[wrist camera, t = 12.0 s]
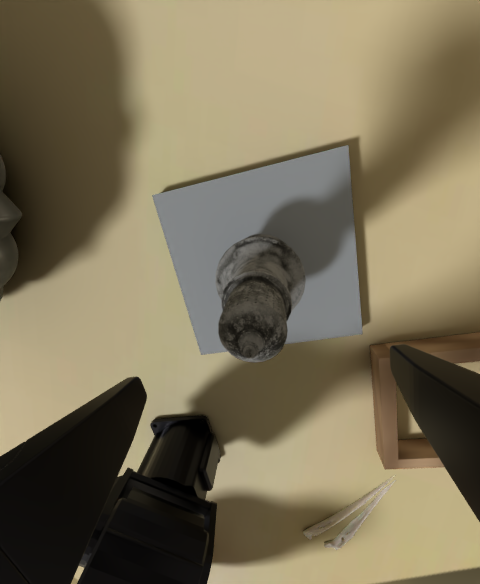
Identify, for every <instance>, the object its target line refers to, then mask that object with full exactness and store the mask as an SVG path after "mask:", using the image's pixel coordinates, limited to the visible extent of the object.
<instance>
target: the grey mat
mask: <svg viewBox="0 0 480 584" xmlns="http://www.w3.org/2000/svg"><path fill="white" fill-rule="evenodd" d="M152 197H153V200H154V203H155V206H156V210H157V213H158V216H159V219H160V223H161V226H162V229H163V232H164V236H165V239H166V242H167V245H168V249H169V252H170V255H171V258H172V262H173V265H174V268H175V271H176V274H177V278H178V281H179V284H180V287H181V291H182V294H183V297H184V300H185V304H186V307H187V310H188V313H189V317H190V320H191V323H192V326H193V330H194V333H195V336H196V339H197V343H198V346H199V349H200V352H201V355H204V354H212V353H219V352H227V350H226V349H225V348H224V346H223V345H222V343H221V341H220V337H219V334H218V323H219V320H220V316H221V314H222V312H223V309H222V306H221V303H222V301H221V299H220V297H219V295H218V292H217V288H216V284H215V281H216V270H217V267H218V263H219V261H220V259H221V258H222V256H223V255H224V253H225V252H226V251H227V250H228V249H229V248H230V247H231V246H232V245H234V244H235V243H237V242H239V241H241V240H243V239H245V238H247V237H249V236H253V235H258V234H266V235H271V236H274V237H277V238H279V239H280V240H282V241H283V242H285V243H286V244H287V245H288V246H289V247H291V248H292V249H293V251H294V252H295V253H296V254H297V255H298V257H299V258H300V260H301V263H302V265H303V267H304V271H305V279H306V281H305V288H304V293H303V295H302V297H301V299H300V302H299V303H298V304H297V305H296V307H295V308H294V309H293V310H292V311H291V314H290V316H289V318H288V320H287V329H288V332H287V339H286V342H285V344H290V343H297V342H305V341H313V340H321V339H329V338H336V337H344V336H352V335H360V334H363V333H362V319H361V306H360V293H359V280H358V267H357V253H356V240H355V227H354V214H353V200H352V187H351V174H350V161H349V147H348V145H346V146H342V147H338V148H334V149H330V150H327V151H323V152H319V153H315V154H311V155H307V156H303V157H299V158H295V159H292V160H288V161H284V162H280V163H276V164H272V165H268V166H264V167H261V168H257V169H253V170H249V171H245V172H241V173H237V174H233V175H229V176H226V177H222V178H218V179H214V180H210V181H206V182H202V183H198V184H194V185H191V186H187V187H183V188H179V189H175V190H171V191H167V192H163V193H159V194H156V195H152Z"/></svg>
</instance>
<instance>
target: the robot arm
mask: <svg viewBox="0 0 480 584" xmlns="http://www.w3.org/2000/svg"><path fill="white" fill-rule="evenodd" d="M390 368H391V372H392V375H393V377H394V379H395V381H396V383H397V385H398V387H399V389H400V391H401V393H402V395H403V397H404V399H405V401H406V403H407V405H408V407H409V409H410V411H411V413H412V415H413V417H414V419H415V421H416V422H417V424H418V426H419V427H420V429H421V430H422V432H423V434H424V435H425V437H426V438H427V440H428V441H429V443H430V445H431V446H432V448H433V449H434V451H435V452H436V454H437V456H438V457H439V459H440V460H441V462H442V463H443V465H444V467H445V468H446V470H447V471H448V473H449V475H450V476H451V478H452V479H453V481H454V482H455V484H456V486H457V487H458V489H459V490H460V492H461V493H462V495H463V497H464V498H465V500H466V501H467V503H468V504H469V506H470V508H471V509H472V511H473V512H474V514H475V516H476V517H477V519H478V520H479V522H480V374H478V373H476V372H473V371H471V370H468V369H466V368H463V367H461V366H458V365H456V364H453V363H451V362H448V361H446V360H443V359H441V358H438V357H436V356H434V355H431V354H429V353H426V352H424V351H421V350H419V349H416V348H414V347H411V346H409V345H406V344H398V345H392V346H391V347H390ZM146 399H147V394H146V391H145V389H144V386H143V384H142V382H141V379H140V378H139V377H129V378H127V379H125V380H123V381H122V382H120V383H118V384H117V385H115V386H114V387H112V388H110V389H109V390H107V391H106V392H104V393H102V394H101V395H99V396H97V397H96V398H94V399H93V400H91V401H89V402H88V403H86V404H85V405H83V406H81V407H80V408H78V409H76V410H75V411H73V412H72V413H70V414H68V415H67V416H65V417H64V418H62V419H60V420H59V421H57V422H55V423H54V424H52V425H51V426H49V427H47V428H46V429H44V430H43V431H41V432H39V433H38V434H36V435H34V436H33V437H31V438H30V439H28V440H27V441H26V442H23V443H21V444H20V445H18V446H17V447H15V448H13V449H12V450H10V451H9V452H7V453H5V454H4V455H2V456H0V584H71V582H72V580H73V577H74V575H75V573H76V571H77V568H78V566H81V567H84V570H83V572H82V574H81V577H80V579H79V581H78V583H77V584H207V581H208V577H209V573H210V568H211V563H212V557H213V548H214V535H215V523H216V510H217V503H215V502H212V501H211V502H209V501H206V500H205V498H206V494H207V491H211V489H212V488H213V484H214V479H215V474H216V469H217V464H218V463H219V462H220V458H221V457H220V449H219V446H218V443H217V440H216V437H215V435H214V433H213V432H212V429H211V426H210V423H209V420H208V418H207V417H206V416H203V415H202V416H190V417H178V418H166V419H155V420H153V421H152V423H151V428H152V430H153V433H154V435H155V437H154V439H153V441H152V443H151V445H150V447H149V449H148V451H147V453H146V455H145V457H144V459H143V461H142V463H141V465H140V467H139V469H138V471H137V472H134V471H133V469H130V468H127V470H126V471H125V473H124V475H123V476H120V477H117V476H118V474H119V471H120V469H121V467H122V465H123V462H124V460H125V458H126V455H127V453H128V451H129V448H130V446H131V444H132V441H133V439H134V436H135V433H136V430H137V427H138V424H139V421H140V418H141V415H142V412H143V409H144V406H145V403H146ZM202 420H203V421H202Z"/></svg>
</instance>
